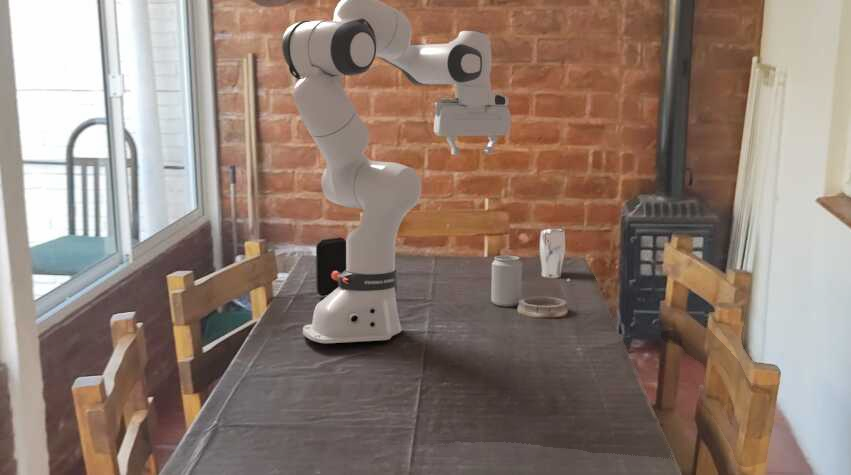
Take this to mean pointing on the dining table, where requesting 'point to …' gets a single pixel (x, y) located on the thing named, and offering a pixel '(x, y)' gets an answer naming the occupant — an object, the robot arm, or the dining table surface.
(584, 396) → the dining table surface
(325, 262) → the carrying case or bag
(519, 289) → the can
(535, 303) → the beige round shallow dish
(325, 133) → the robot arm
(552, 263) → the beer glass
